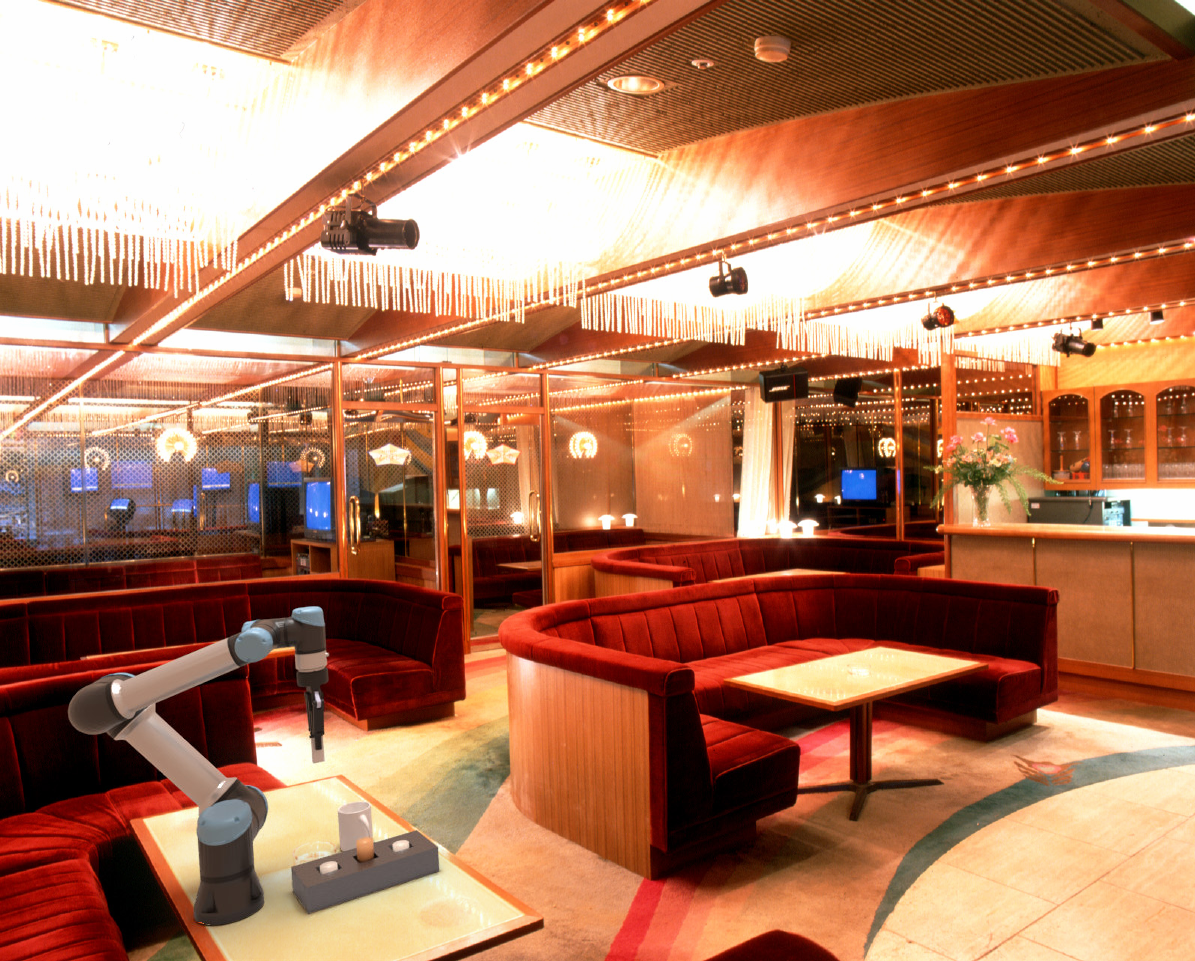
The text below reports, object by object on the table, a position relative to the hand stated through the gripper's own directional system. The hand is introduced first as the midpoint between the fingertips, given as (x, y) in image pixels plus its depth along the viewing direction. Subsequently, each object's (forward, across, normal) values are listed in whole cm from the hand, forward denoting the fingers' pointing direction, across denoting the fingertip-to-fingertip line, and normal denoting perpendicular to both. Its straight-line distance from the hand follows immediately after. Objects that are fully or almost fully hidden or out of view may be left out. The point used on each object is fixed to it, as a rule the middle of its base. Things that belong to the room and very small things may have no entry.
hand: (318, 761), depth 214 cm
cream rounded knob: (+27, -11, -16) cm, 33 cm away
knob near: (+26, -12, +2) cm, 29 cm away
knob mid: (+23, -12, -8) cm, 27 cm away
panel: (+28, -12, -7) cm, 31 cm away
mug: (+28, +10, -11) cm, 32 cm away
